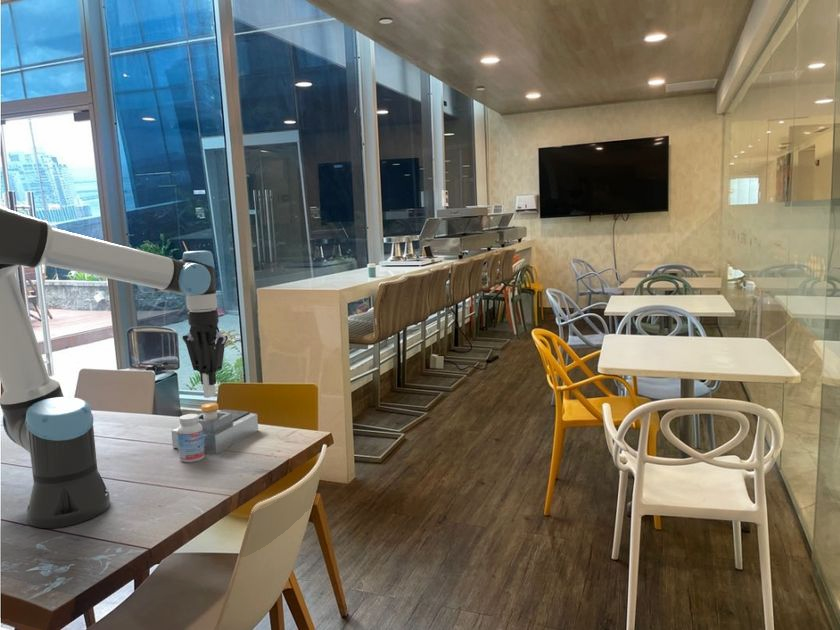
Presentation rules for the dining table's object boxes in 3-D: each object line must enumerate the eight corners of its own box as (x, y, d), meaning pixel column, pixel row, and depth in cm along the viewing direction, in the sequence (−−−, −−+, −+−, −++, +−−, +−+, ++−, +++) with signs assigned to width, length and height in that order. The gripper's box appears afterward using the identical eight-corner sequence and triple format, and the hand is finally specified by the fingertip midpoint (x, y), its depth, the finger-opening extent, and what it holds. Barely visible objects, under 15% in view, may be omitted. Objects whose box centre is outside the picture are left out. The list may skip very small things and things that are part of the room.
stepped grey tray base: (216, 453, 161) (214, 424, 159) (172, 448, 165) (170, 419, 164) (258, 430, 178) (256, 403, 177) (217, 426, 183) (216, 400, 182)
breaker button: (213, 435, 164) (211, 408, 163) (199, 434, 166) (197, 407, 165) (223, 430, 168) (221, 403, 167) (210, 429, 170) (208, 402, 169)
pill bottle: (188, 465, 154) (184, 421, 152) (174, 459, 157) (171, 417, 156) (209, 457, 158) (206, 415, 157) (195, 452, 162) (192, 411, 160)
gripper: (232, 308, 163) (238, 394, 167) (191, 307, 168) (199, 390, 171) (214, 312, 156) (221, 402, 160) (172, 311, 161) (180, 398, 164)
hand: (209, 396), depth 166 cm, fingers closed
